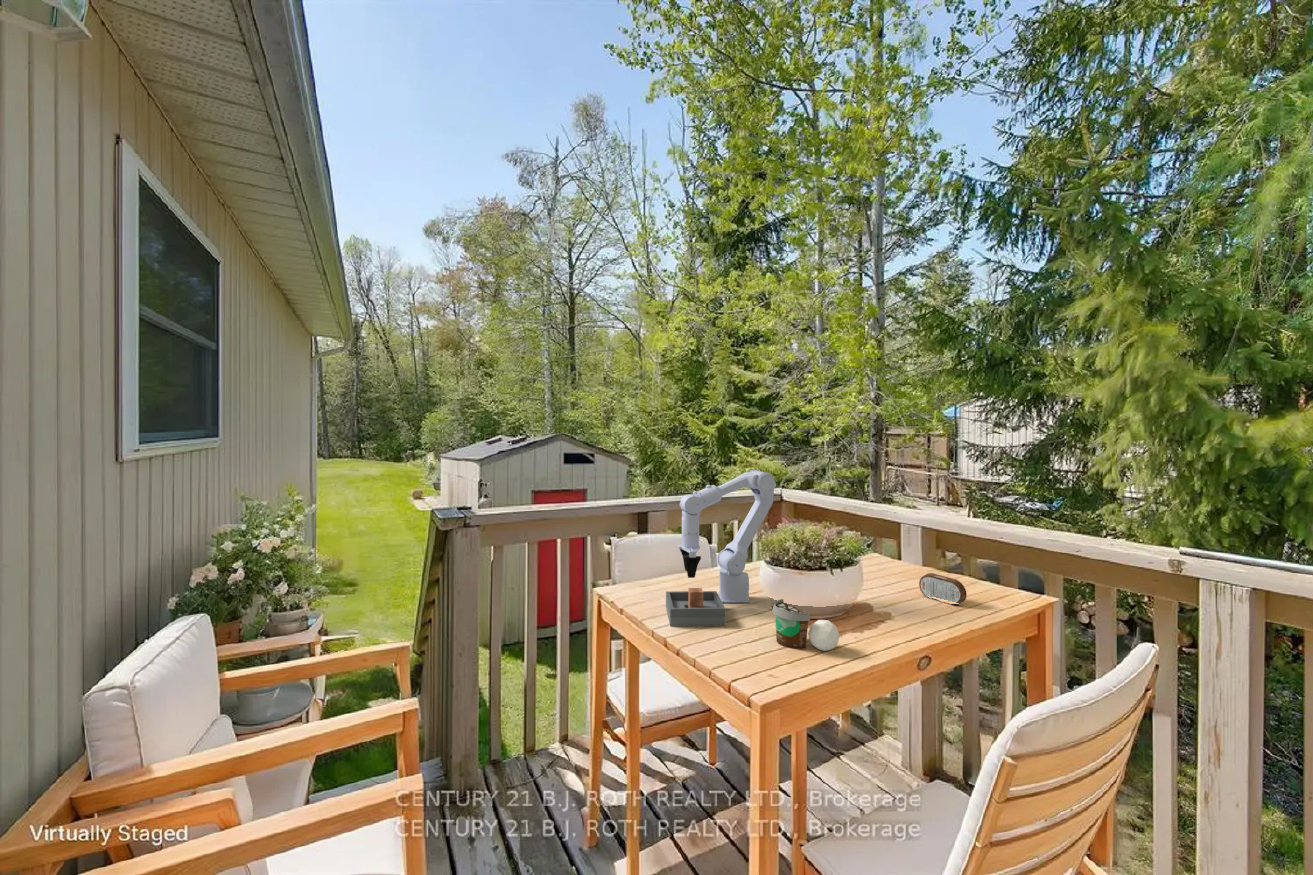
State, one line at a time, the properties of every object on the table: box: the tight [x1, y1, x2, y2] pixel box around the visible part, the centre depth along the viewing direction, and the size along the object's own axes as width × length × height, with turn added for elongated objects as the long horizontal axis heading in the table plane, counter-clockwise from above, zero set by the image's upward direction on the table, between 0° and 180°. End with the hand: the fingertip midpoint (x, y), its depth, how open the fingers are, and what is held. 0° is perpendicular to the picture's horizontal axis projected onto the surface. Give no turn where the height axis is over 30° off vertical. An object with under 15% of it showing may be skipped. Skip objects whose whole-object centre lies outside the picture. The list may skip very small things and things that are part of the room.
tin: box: [918, 572, 968, 604], centre depth 190 cm, size 15×3×8 cm, turn 34°
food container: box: [772, 598, 811, 650], centre depth 154 cm, size 12×6×10 cm, turn 23°
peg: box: [688, 587, 704, 608], centre depth 173 cm, size 4×4×8 cm
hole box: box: [665, 590, 726, 627], centre depth 174 cm, size 16×16×5 cm
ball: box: [807, 619, 840, 652], centre depth 151 cm, size 8×8×8 cm
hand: (689, 573), depth 185 cm, fingers open, 7 cm apart
